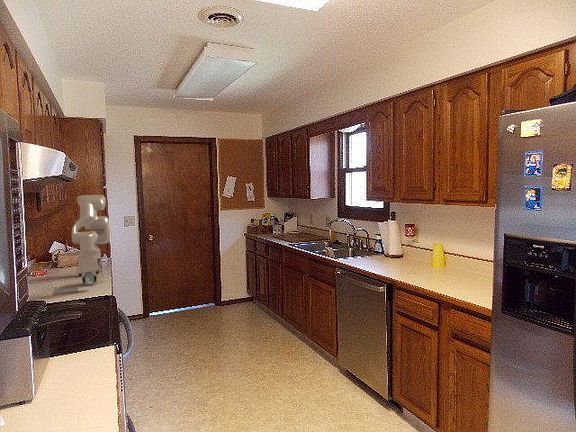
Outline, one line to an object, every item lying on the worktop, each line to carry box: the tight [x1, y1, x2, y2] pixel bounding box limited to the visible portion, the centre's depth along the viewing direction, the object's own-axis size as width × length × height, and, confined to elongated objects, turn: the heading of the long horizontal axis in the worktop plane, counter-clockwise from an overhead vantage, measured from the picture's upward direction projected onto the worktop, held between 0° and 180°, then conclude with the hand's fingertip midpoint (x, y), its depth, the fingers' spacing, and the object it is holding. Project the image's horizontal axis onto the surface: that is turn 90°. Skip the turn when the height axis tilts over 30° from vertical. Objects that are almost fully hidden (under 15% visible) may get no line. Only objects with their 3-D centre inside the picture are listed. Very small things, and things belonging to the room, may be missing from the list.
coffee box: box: [84, 258, 104, 286], centre depth 255 cm, size 9×6×16 cm
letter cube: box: [84, 274, 94, 286], centre depth 238 cm, size 5×5×5 cm
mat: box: [52, 285, 79, 296], centre depth 239 cm, size 13×13×1 cm
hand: (89, 282), depth 239 cm, fingers closed on letter cube, 5 cm apart
